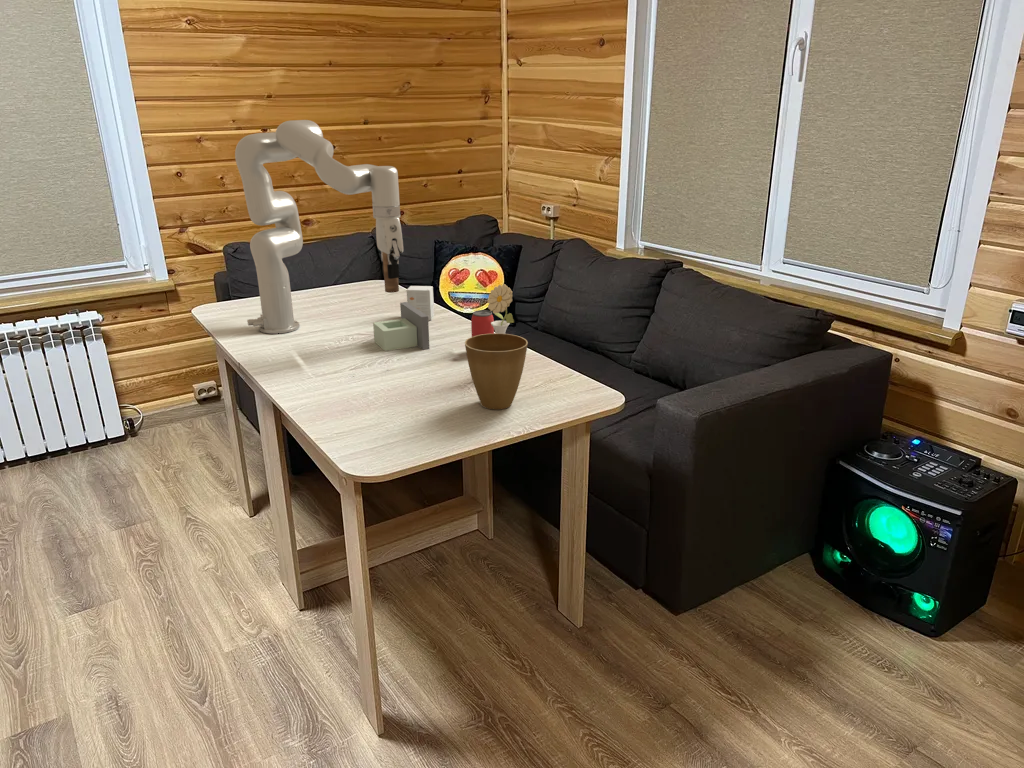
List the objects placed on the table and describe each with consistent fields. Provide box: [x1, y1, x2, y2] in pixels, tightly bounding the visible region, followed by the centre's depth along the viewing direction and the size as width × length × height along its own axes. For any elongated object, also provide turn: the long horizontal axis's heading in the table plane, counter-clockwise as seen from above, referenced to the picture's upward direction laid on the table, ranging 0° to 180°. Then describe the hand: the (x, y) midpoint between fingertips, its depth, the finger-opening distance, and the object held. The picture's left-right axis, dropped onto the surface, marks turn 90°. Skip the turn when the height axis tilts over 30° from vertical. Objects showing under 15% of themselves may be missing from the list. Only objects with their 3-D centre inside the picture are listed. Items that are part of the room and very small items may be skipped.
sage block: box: [372, 318, 419, 352], centre depth 222 cm, size 10×10×6 cm
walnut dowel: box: [382, 251, 400, 293], centre depth 216 cm, size 4×4×12 cm
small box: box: [406, 285, 435, 321], centre depth 251 cm, size 8×6×10 cm
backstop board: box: [399, 301, 430, 351], centre depth 220 cm, size 22×18×11 cm
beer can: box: [470, 309, 495, 337], centre depth 217 cm, size 7×7×12 cm
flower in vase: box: [487, 283, 515, 334], centre depth 199 cm, size 13×11×25 cm
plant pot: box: [464, 332, 529, 410], centre depth 180 cm, size 15×15×16 cm
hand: (390, 275), depth 216 cm, fingers closed on walnut dowel, 4 cm apart
